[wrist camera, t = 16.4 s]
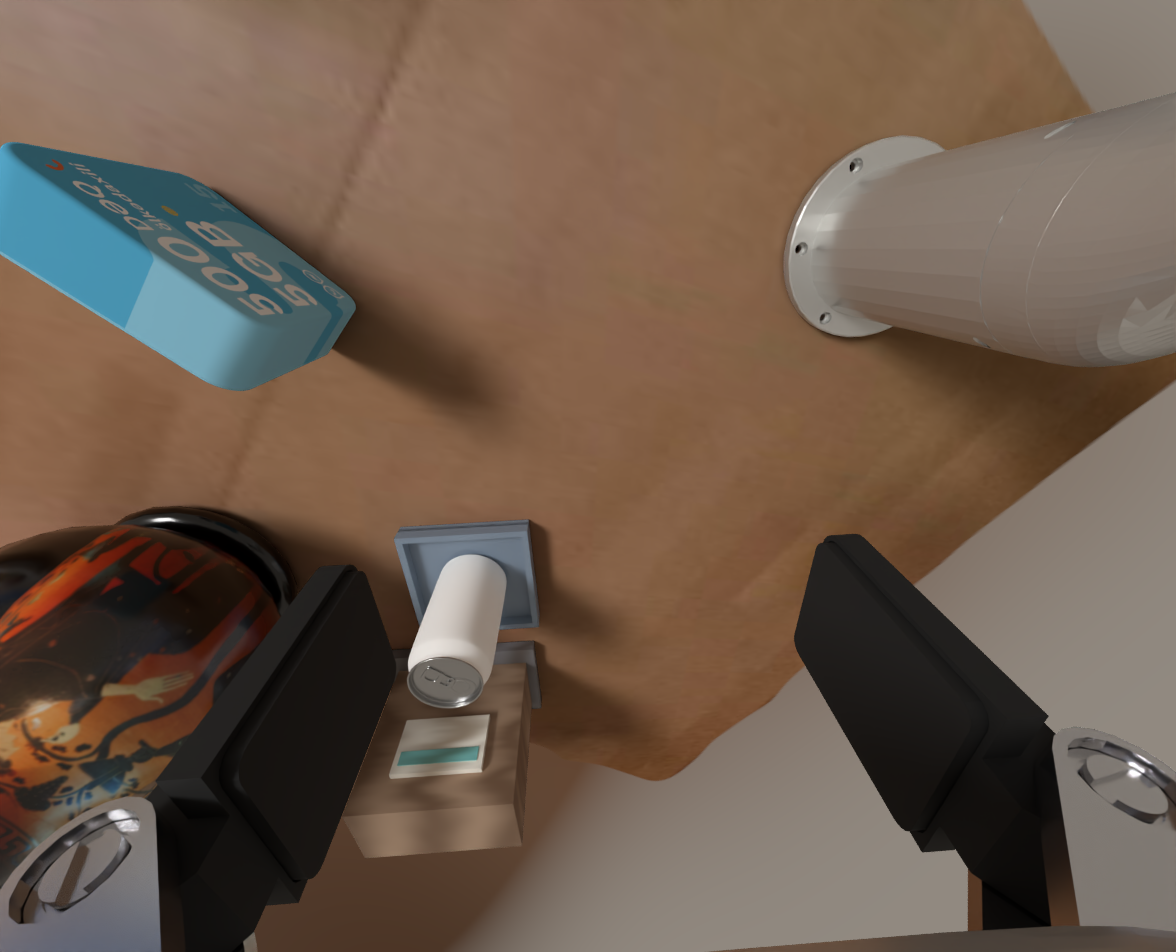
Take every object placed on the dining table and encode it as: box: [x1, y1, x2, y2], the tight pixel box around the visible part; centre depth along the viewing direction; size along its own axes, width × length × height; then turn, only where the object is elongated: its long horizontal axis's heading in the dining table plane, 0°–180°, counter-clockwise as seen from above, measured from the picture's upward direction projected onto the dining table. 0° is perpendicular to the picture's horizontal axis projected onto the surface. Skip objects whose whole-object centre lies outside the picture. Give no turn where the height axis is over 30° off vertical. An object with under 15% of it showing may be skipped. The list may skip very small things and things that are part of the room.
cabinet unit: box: [342, 641, 542, 858], centre depth 44 cm, size 16×10×15 cm, turn 92°
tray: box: [394, 520, 540, 630], centre depth 43 cm, size 12×12×2 cm
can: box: [407, 554, 507, 708], centre depth 38 cm, size 6×6×12 cm
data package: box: [0, 142, 356, 391], centre depth 26 cm, size 12×4×12 cm, turn 48°
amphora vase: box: [0, 506, 297, 889], centre depth 30 cm, size 22×22×28 cm
